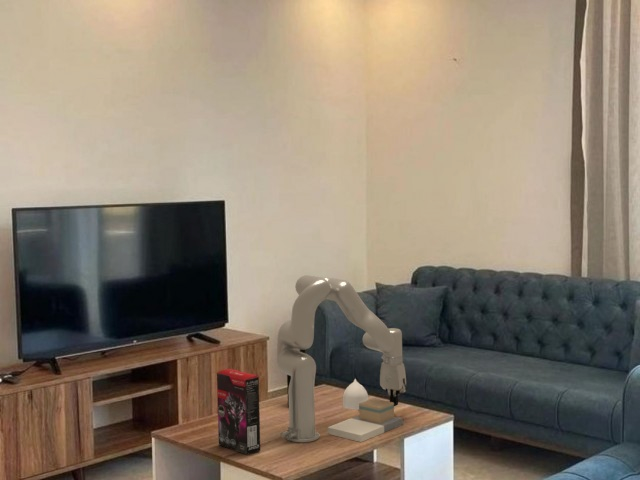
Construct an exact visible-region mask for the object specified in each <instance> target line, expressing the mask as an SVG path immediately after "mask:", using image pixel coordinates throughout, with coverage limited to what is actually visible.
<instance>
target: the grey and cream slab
mask: <svg viewBox="0 0 640 480" xmlns="http://www.w3.org/2000/svg"><path fill="white" fill-rule="evenodd" d="M403 421H404V420H403V417H399V416H394V418H393V419H390V420H388V421H385V422H383V423H376V422H371V421H367V420H363V419H359V414H358V415H356V416H353V417H351V418H348V419H346V420H343V421H340V422H337V423H335V424H332V425H330V426H327V428H326V429H327V431H326V432H327V434H328V435H332V436H336V437H339V438H343V439H347V440H351V441H355V442H358V443H362V442H365V441H368V440H370V439H372V438H375V437H377V436H380V435H382V434H384V433H386V432H389V431H391V430H394V429H396V428H398V427H401V426H403V425H404V424H403V423H404V422H403Z"/></svg>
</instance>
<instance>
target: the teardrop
mask: <svg viewBox="0 0 640 480" xmlns="http://www.w3.org/2000/svg"><path fill="white" fill-rule="evenodd" d="M367 400H369V395H368V391H367V390H366V388H365V387H364V386H363V385H362V384H360V382H359V381H358V380H357V379H356V378H354V380H353V382H351V383H350V384H349V385H348V386H347V387H346V388H345V390H344V392H343V396H342V408H343V409H346V410H351V411H352V410H353V411H355V410H356V411H357V410H358V411H359V403H362V402H365V401H367Z"/></svg>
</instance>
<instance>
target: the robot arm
mask: <svg viewBox="0 0 640 480" xmlns="http://www.w3.org/2000/svg"><path fill="white" fill-rule="evenodd" d="M294 288H295V291H296V293H297V294H298V295H297V297H296V299H295V300H294V302H293V305H292V309H291V318H290V319H291V320H287V321H285V322H283V323H282V324H281V325H280V326H279V329H278V333H277V339H276V340H277V343H276V364H277V368H278V370H279V371H281V373H283V374H285V375H286V376H287V375H290V376H291V380H290V384H289V391H287V395H288V394H289V408H288V417H289V419H288V420H289V422H288V423H289V425H288V426H287V430H286V431H283V432H281V433H280V437H281V438H282V439H284V438H285V439H286V440H287V441H288V442H293V443H309V442H314V441H317V440H318V439H319V438H320V433H319V432H318V431H317V430H316V412H315V411H316V408H315V406H316V405H315V379H316V371H317V364H316V361H315V359H314V358H313V357H312V356H311V355H310V354H308V353H307V354H305V353H302V352H300V349H302V350H304V349H307V350H308V349H310V348H311V347H312V345H313V343H314V337H315V317H316V311H317V309H318V306H319V305H320V304H321V303H322V302H323V301H324V300H329V301H334V302H335V303H336V304H337V306H338V307H339V308H340V310H341V311H342V313H343V314H344V315H345V317H346V318H347V320H348V321H349V322H350V323H352V324H353V326H354V325H355V327H358V328H359V329H361V330H363V331H364V332H365V333H364V334H363V336H362V344H363V345H364V346H365V347H366V348H367V349H369V350H373V351H378V352H380V353H383V355H381V357H380V358H381V359H382V360H383V362H381V365H380V370H379V371H380V372H379V373H380V374H379V385H380V387H381V388H382V389H383V390H384V391H386V393H387V395H388V397H389V402H393V403H394V407H396V406H398V405H399V396H400V394H404V393H405V392H407V391H406V387H407V377H406V376H407V375H406V367H405V363H403V334H402V333H403V332H402V330H401V329H399V328H396V327H391V328H389V327H387V325H386V324H385V322H383V321H382V320H381V319H380V318H379V317H378V316H377V315H376V314H375V313H374V312H373V311H372V310H370V309H369V308H368V306H367V305H366V303H364V301H363V300H362V298H361V297H360V295H359V294H358V292H357V290H355V288H354V286H353V285H352V284H351V283H350V282H349V281H347V280H343V279H340V278H339V279H338V278H333V277H331V278H330V277H323V276H314V275H313V276H312V275H302V276H300V277H299V278H298V279H297V280H296V282H295V287H294Z"/></svg>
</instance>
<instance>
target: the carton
mask: <svg viewBox="0 0 640 480" xmlns="http://www.w3.org/2000/svg"><path fill="white" fill-rule="evenodd" d="M358 415H359V419H363V420H367V421H371V422H376V423H383V422H385V421H388V420H390V419H393V418H394V417H395V406H394V403H393V402H390V401H387V400H383V399H378V398H371V399H368V400H367V401H365V402H362V403H359V410H358Z"/></svg>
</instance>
